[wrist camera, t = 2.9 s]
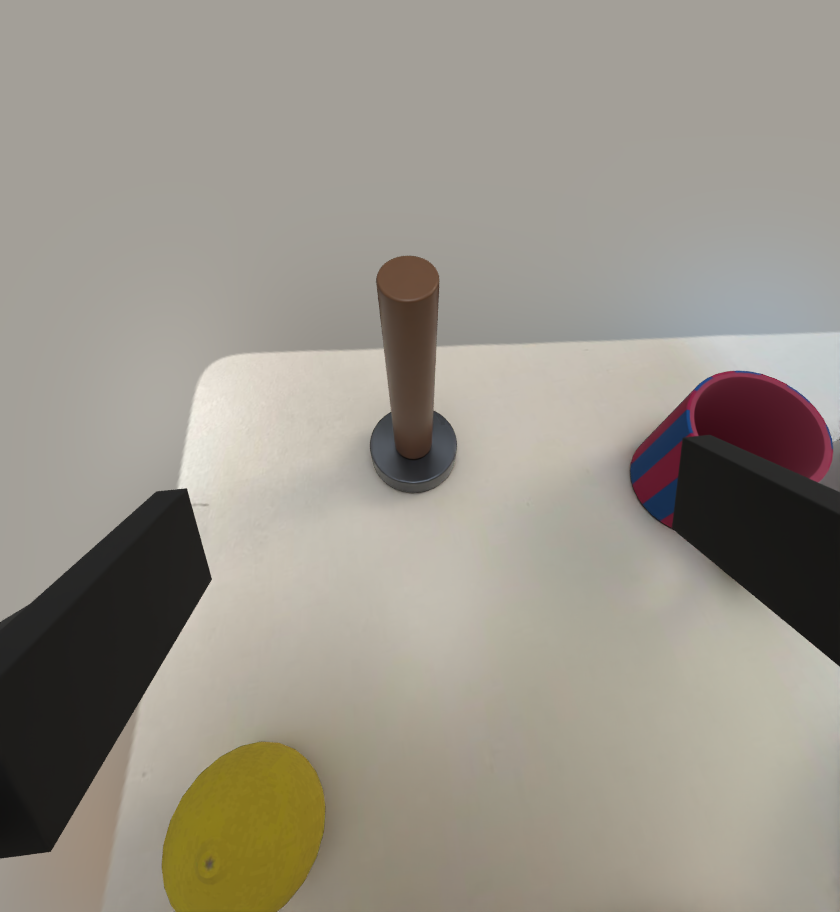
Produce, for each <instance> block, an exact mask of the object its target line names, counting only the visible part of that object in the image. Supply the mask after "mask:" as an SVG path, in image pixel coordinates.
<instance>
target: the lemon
mask: <svg viewBox="0 0 840 912" xmlns="http://www.w3.org/2000/svg"><path fill="white" fill-rule="evenodd" d="M324 822H325V802H324V795H323V789H322V786H321V783H320V781H319V778H318V775H317V773H316V771H315V770H314V768H313V767H312V766H311V764H310V763H309V761H308V760H307V759H306V758H305V757H304V756H303V755H301V754H300V753H299V752H298V751H296V750H295V749H293V748H291V747H288V746H285V745H283V744H280V743H273V742H257V743H252V744H248V745H244V746H240V747H238V748H236V749H234V750H232V751H231V752H229V753H227V754H225V755H223V756H221V757H220V758H218V759H217V760H216V761H215V762H214V763H212V764H211V765H210V766H209V767H208V768H206V769H205V770H204V771H203V772H202V773H201V774H200V775H199V776H198V777H197V778H196V780H195V781H194V782H193V784H192V785H191V786H190V788H189V789H188V790H187V791H186V793H185V794H184V795H183V797H182V799H181V801H180V802H179V804H178V806H177V808H176V810H175V812H174V814H173V816H172V818H171V820H170V824H169V827H168V831H167V834H166V838H165V841H164V845H163V856H162V873H163V881H164V888H165V890H166V893H167V896H168V898H169V901H170V904H171V906H172V907H173V909H174V910H175V911H176V912H277V911H278V910H279V909H281V908H282V907H283V906H284V905H285V904H286V903H287V902H288V901H289V900H290V899H291V897H292V896H293V895H294V894H295V893H296V891H297V890H298V889H299V888H300V886H301V885H302V884H303V882H304V881H305V879H306V877H307V875H308V873H309V871H310V869H311V867H312V865H313V863H314V861H315V859H316V857H317V854H318V851H319V847H320V843H321V840H322V836H323V833H324Z"/></svg>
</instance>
